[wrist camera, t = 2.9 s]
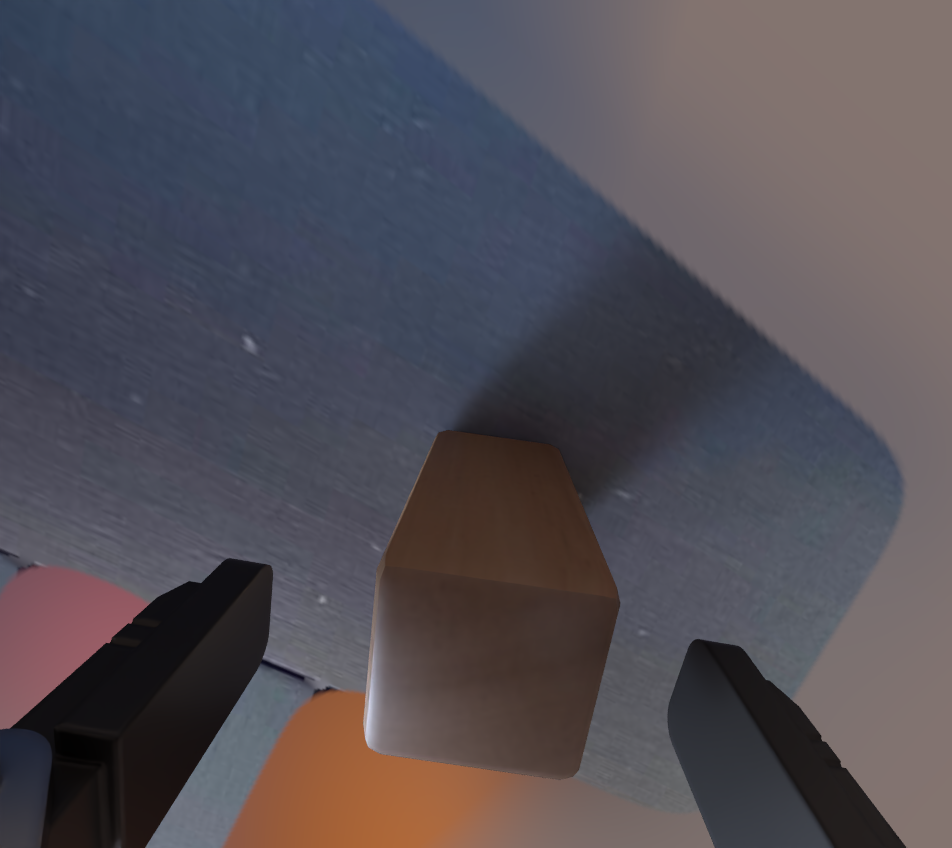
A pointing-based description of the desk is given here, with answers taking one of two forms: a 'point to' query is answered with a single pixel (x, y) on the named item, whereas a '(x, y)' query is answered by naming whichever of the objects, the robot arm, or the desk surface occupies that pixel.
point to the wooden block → (490, 614)
